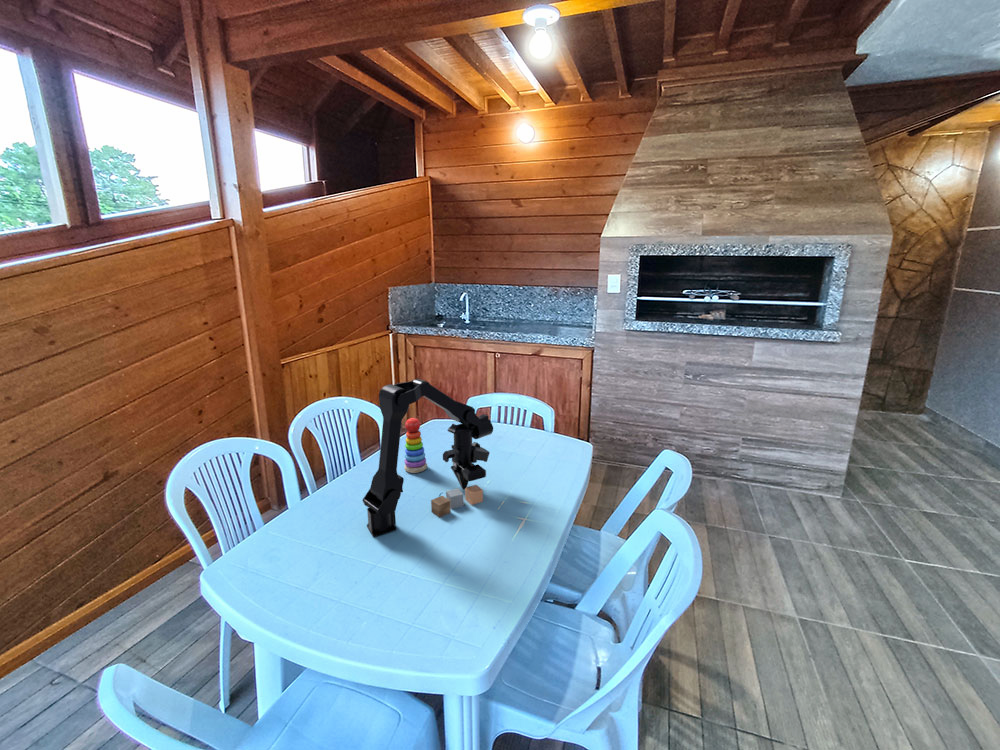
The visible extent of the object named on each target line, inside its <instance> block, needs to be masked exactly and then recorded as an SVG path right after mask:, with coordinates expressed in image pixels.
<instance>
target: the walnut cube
mask: <svg viewBox="0 0 1000 750" xmlns="http://www.w3.org/2000/svg"><path fill="white" fill-rule="evenodd" d="M430 506H431V507H430V508H431V513H432V514H434V515H435V516H436V517H438V518H441V517H444V516H446V515H449V514H451V510H452V509H451V508H450V500H448V499H447V498H446V496H443V495H440V496H438V497H434V498H433V499H431V500H430Z"/></svg>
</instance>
